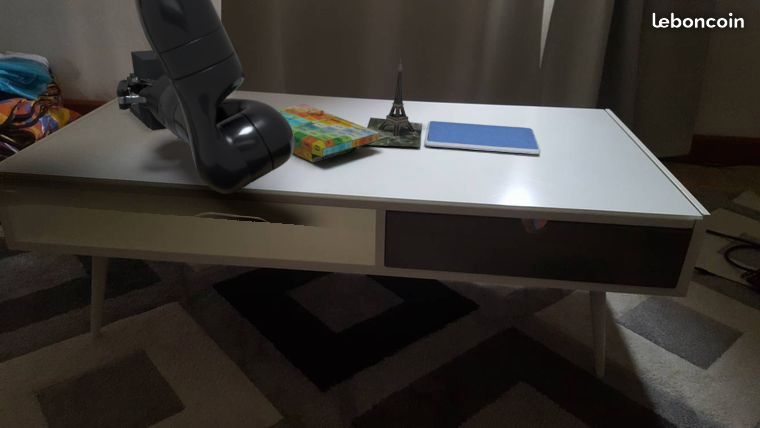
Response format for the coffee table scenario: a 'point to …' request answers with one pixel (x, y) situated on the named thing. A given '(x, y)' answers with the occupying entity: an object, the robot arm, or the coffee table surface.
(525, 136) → the tablet
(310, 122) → the puzzle game
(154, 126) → the black block
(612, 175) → the coffee table surface
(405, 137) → the eiffel tower figurine
